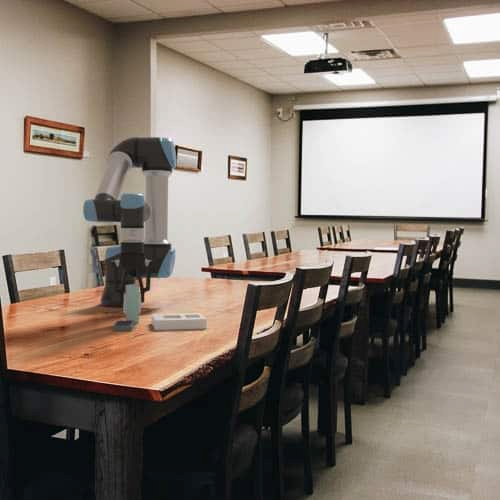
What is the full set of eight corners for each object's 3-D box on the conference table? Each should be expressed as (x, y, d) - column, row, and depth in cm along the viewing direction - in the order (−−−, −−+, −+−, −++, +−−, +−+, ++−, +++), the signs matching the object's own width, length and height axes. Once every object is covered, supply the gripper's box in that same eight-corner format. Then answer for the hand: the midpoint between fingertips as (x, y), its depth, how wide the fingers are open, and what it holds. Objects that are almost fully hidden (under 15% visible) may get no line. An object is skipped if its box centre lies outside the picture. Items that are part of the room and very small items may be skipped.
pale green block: (125, 321, 214) (125, 284, 213) (137, 321, 215) (138, 284, 214) (126, 323, 210) (126, 285, 209) (138, 323, 211) (138, 285, 210)
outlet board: (151, 323, 211) (151, 313, 211) (200, 321, 215) (200, 312, 215) (154, 330, 199) (154, 319, 199) (206, 328, 203) (206, 318, 203)
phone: (117, 326, 207) (117, 320, 207) (134, 326, 207) (134, 320, 207) (113, 332, 197) (113, 325, 197) (131, 332, 197) (131, 325, 197)
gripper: (105, 241, 205) (105, 315, 207) (159, 241, 209) (159, 314, 211) (105, 240, 212) (105, 311, 214) (157, 240, 217) (157, 310, 218)
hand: (132, 312), depth 212 cm, fingers closed on pale green block, 4 cm apart
